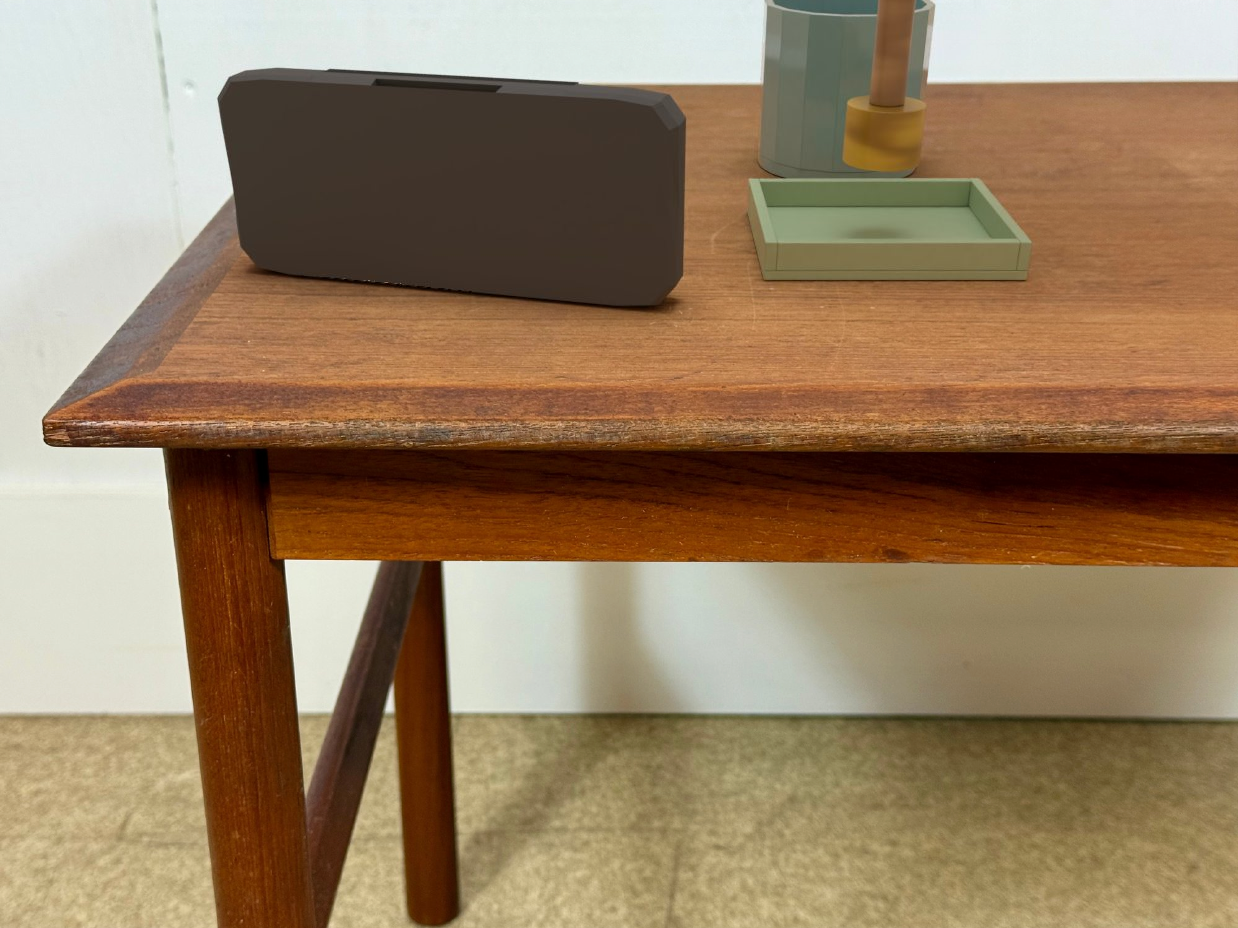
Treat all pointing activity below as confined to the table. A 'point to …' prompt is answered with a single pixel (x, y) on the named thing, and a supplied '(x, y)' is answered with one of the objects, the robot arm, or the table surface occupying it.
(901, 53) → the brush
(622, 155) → the chamfered brown slab
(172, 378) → the table surface
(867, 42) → the crock
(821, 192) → the tray
